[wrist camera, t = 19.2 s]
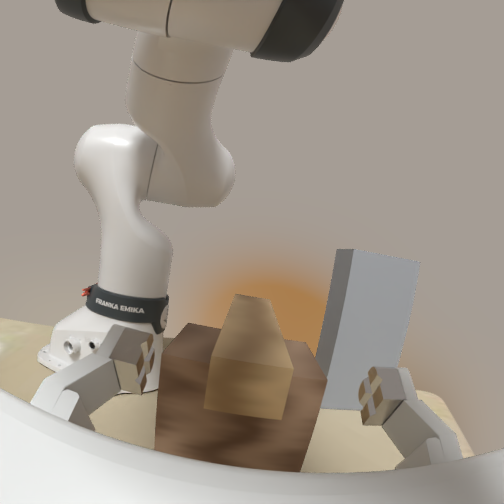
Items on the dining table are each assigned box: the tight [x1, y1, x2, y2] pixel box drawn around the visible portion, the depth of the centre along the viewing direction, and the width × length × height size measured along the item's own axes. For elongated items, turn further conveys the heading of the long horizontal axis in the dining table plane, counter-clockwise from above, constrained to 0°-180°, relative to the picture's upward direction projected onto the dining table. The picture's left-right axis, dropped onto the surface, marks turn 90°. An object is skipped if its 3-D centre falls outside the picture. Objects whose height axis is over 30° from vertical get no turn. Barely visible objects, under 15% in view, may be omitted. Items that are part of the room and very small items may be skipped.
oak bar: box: [204, 294, 294, 420], centre depth 26 cm, size 4×22×3 cm, turn 0°
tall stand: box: [315, 249, 420, 410], centre depth 51 cm, size 12×10×26 cm
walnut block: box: [154, 323, 328, 472], centre depth 26 cm, size 12×10×15 cm
